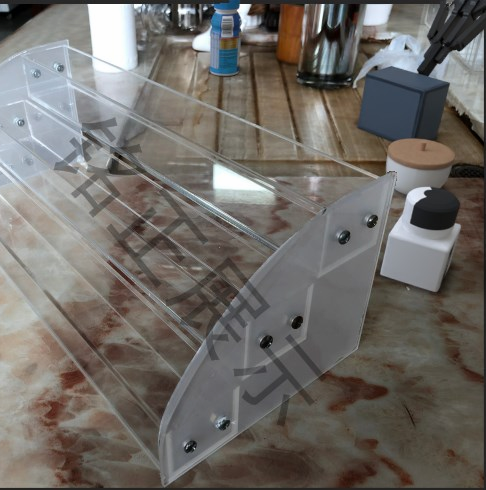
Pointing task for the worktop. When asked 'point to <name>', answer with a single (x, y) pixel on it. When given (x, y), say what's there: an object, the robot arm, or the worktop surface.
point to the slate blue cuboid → (402, 104)
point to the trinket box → (419, 163)
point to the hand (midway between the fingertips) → (421, 74)
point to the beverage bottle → (225, 39)
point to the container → (423, 239)
